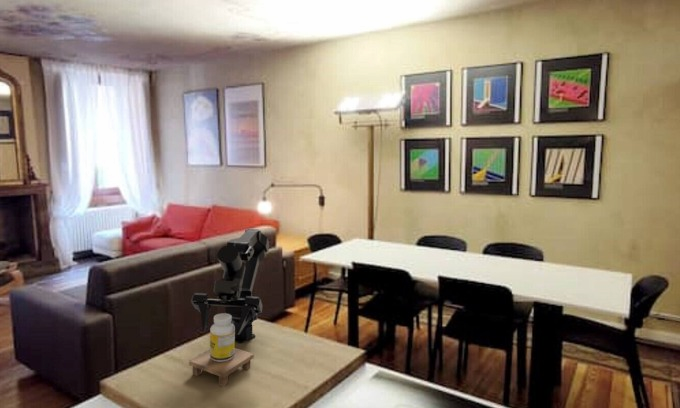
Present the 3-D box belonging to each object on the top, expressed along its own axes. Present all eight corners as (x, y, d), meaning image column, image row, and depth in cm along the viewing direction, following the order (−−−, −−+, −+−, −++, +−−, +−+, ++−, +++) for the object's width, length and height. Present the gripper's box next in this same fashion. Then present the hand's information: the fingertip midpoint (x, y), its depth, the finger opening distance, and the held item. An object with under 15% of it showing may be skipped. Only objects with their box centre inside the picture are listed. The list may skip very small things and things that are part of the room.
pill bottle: (213, 350, 125) (214, 311, 123) (237, 351, 125) (237, 312, 123) (206, 362, 118) (207, 320, 117) (231, 363, 118) (231, 322, 117)
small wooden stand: (189, 374, 120) (189, 360, 119) (220, 356, 130) (220, 343, 129) (223, 388, 114) (223, 373, 114) (253, 367, 125) (253, 354, 124)
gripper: (193, 264, 122) (177, 319, 113) (261, 268, 121) (250, 324, 112) (203, 283, 131) (189, 335, 122) (266, 286, 130) (257, 339, 121)
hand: (220, 333), depth 119 cm, fingers open, 9 cm apart
